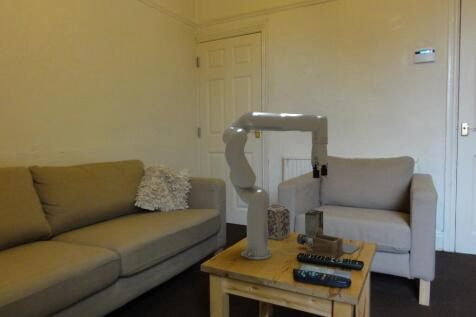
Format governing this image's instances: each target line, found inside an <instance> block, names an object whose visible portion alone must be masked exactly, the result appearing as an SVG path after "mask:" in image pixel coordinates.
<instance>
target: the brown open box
mask: <svg viewBox="0 0 476 317" xmlns="http://www.w3.org/2000/svg"><path fill="white" fill-rule="evenodd" d="M343 240H344V239H343V237H338V236H333V235H328V234H323V235H322V234H320V235H319V238H315V237H314V238H313V246H310V247H309V248H307V249H306V250H305V254H307V255H311V254H313V255H312V256H315V255H318V256H317V257H319V256H326V257H331V258H336V259H338V258H340V256H342V255H344V253H343Z"/></svg>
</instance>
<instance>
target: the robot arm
mask: <svg viewBox="0 0 476 317" xmlns="http://www.w3.org/2000/svg"><path fill="white" fill-rule="evenodd" d="M328 124H329V123H328V117H327V116H325V115H314V114H306V113H304V114H303V113H302V114H301V113H287V112H274V111H273V112H271V111H261V110H260V111H259V110H258V111H257V110H253V111H248V112H245V113H243V114H242V115H241V116H239V117H238V118H237V119H236V120H235V121H234V122H233V123H232V124H230V125H229V126H228V127H227V128H226V129H225V130H224V131H223V133H222V138H221V139H222V141H223V143H224V145H225V149H224V158H225V160H226V163H227V165H228V167H229V170H230V171H229V180H230V183H231V185H232V187H233V188H234V190H235V192H236V193H237V195H238V196H239V199H240V200H241V201H242V203H244V204H246V205H248V207H247V212H246V247H245V250H243V251H241V252H240V255H241V257H245V258H247V259H249V260H256V261H257V260H259V261H260V260H266V259H269V258H271V256H272V252H271V251H270V249H269V242H268V241H269V238H268V206H270V196H269V193H268V192H267V190H266V189H265V188H262V187H260V186H258V185H257V186H256V185H255V184H256V182H257V176H256V173H255V171H254V170H253V168H252V166H251V165H250V163H249V161H248V159H247V156H246V155H245V147H246V144H247V142H248V138H249V136H248V134H249V133H250V132H251V131H263V132H264V131H267V132H291V131H292V132H293V131H294V132H298V131H299V132H301V133H306V132H310V133H311V154H310V155H311V156H310V158H311V159H310V165H311V167H312V178H313V179H320V177H321V176H322V177H327V176H328V162H329V155H328V145H329V140H328V139H329V130H328V128H329V127H328ZM320 166H321V168H320Z"/></svg>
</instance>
